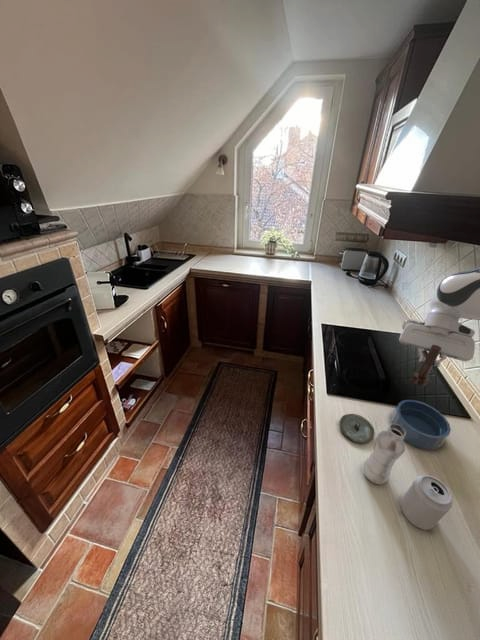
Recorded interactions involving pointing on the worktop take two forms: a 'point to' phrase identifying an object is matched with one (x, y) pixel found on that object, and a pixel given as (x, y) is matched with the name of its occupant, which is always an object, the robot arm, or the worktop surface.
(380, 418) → the worktop surface
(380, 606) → the worktop surface
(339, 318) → the worktop surface
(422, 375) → the stirring stick
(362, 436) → the lid
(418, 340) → the robot arm
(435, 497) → the can
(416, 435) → the bowl
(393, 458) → the plastic bottle
